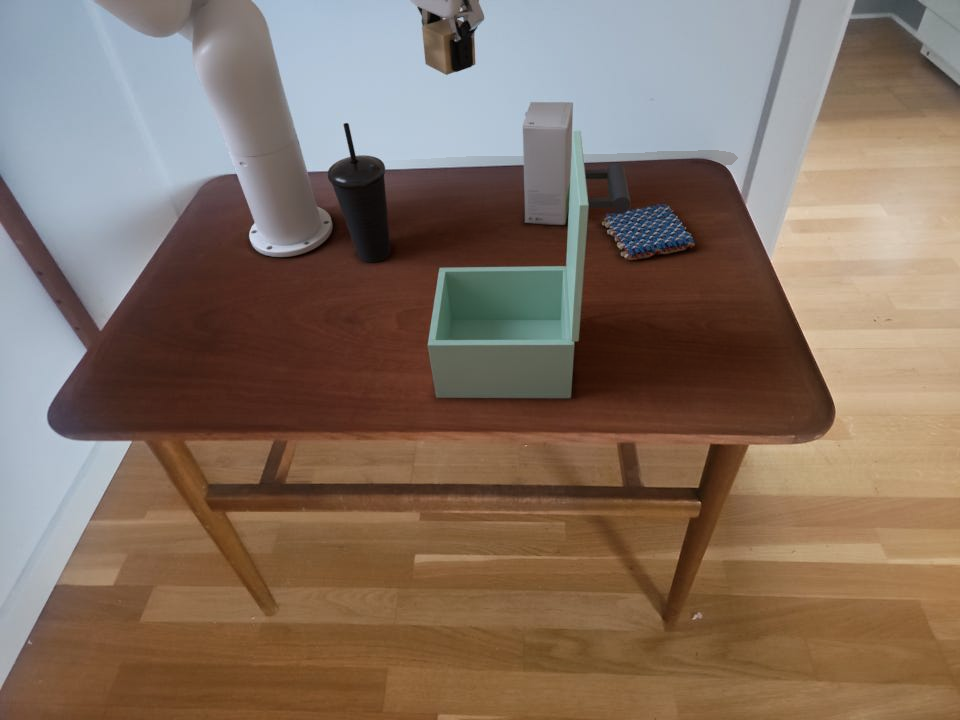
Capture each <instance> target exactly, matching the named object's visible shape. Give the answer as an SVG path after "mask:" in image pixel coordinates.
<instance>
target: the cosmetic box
mask: <svg viewBox="0 0 960 720" xmlns="http://www.w3.org/2000/svg"><path fill="white" fill-rule="evenodd" d="M573 115H574V102H568V101H566V102H565V101H557V102H556V101H555V102H554V101H553V102H552V101H551V102H545V101H544V102H543V101H531V102H530V103H529V106H528V107H527V111H525V113H524V116H525V117H524V120H523V123H522V154H523V155H522V156H523V157H522V158H523V187H524V188H523V190H524V191H523V192H524V223H526V224H535V225H553V226H565V225H566V222H567V218H568V213H569V196H570V175H571V154H572V133H573V118H574V117H573Z"/></svg>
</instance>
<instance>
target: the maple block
mask: <svg viewBox="0 0 960 720" xmlns="http://www.w3.org/2000/svg"><path fill="white" fill-rule="evenodd" d="M457 20H458V25H459V27H460V26H461V24H462V23H463V22H464V20H460V19H459V18H458V19H457ZM421 31H422V41H423V52H424V62H425V63H424V64H425V65H426V66H428V67H430V68H432V69H434V70H435V71H437V72H440V73H442V74H444V75H446V76H448V75H450V74H454V73H455V72H454V71H453V70H452V63H451V49H450V40H453V36H452V32H451V27H450V23H449V19H446V18H443V20H440V21H437V22H434V23H431V24H427V25H424V26H423V25H421ZM472 51H473V65H472V67H473V66H475V65H476V45H475V35H474V36H473V37H472Z"/></svg>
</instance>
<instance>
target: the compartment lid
mask: <svg viewBox="0 0 960 720" xmlns="http://www.w3.org/2000/svg"><path fill="white" fill-rule="evenodd" d="M583 149H584V148H583V140H582V132H581V130H572V154H571V175H570V196H569V206H568V215H567V219H568V220H567V240H566V260H565V266H566V267H567V283H568V300H569V316H570V333H571V341H574V342H579V340H580V329H581V314H582V301H583V287H584V274H585V273H584V272H585V259H586V247H587V236H588V235H587V233H588V221H589V209H610V210H612V212H613V213H614V214H617V213H619V214H622V213H625V212H627V211H628V210H629V211H630V208H631V206H632V203H631V196H630V192H629V187H628V182H627V176H626V170H625V167H624V165H622V164H621V163H618V162H614V163H611V164H609V165H608V166H607V167H606V169H605V168H603V169H586V168H585V159H584V158H585V157H584V151H583ZM587 180H606V184H607V190H608V197H589V196H588V195H589V194H588V188H587V187H588V186H587V185H588V184H587Z"/></svg>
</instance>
